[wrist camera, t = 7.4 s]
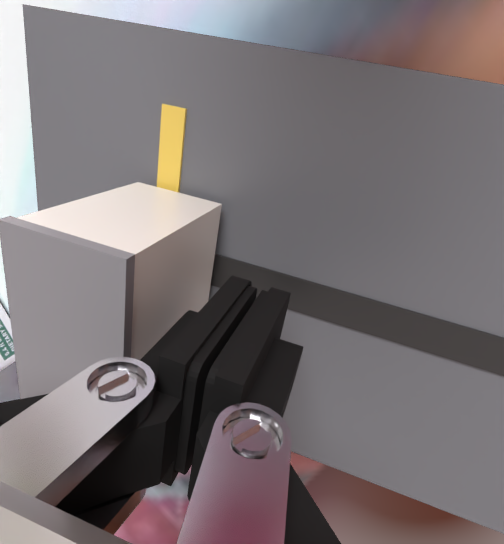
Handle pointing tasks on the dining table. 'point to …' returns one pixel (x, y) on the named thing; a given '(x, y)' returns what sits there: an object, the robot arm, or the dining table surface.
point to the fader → (103, 278)
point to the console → (316, 225)
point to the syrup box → (6, 340)
